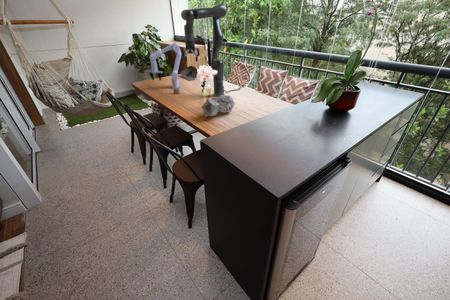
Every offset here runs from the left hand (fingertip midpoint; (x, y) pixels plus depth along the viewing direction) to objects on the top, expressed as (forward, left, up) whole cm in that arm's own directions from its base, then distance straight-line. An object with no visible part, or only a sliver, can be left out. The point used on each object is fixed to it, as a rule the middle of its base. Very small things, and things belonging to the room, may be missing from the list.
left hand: (156, 80), depth 217 cm
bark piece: (-40, +36, -9) cm, 55 cm away
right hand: (+48, +35, +26) cm, 65 cm away
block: (+19, +19, -9) cm, 29 cm away
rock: (+81, +51, -9) cm, 96 cm away
